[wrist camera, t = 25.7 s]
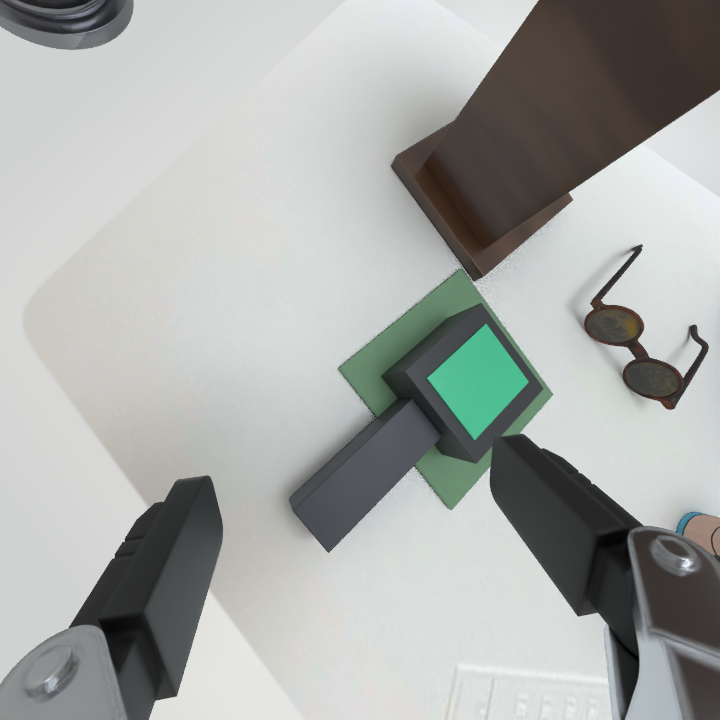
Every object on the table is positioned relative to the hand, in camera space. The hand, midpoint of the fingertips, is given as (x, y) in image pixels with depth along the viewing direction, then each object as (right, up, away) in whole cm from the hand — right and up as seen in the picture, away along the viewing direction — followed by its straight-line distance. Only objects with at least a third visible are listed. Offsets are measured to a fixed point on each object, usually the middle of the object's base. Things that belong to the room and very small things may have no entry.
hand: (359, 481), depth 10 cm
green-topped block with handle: (+3, -2, +20) cm, 20 cm away
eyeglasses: (+33, +8, +31) cm, 46 cm away
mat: (+9, +1, +22) cm, 24 cm away
